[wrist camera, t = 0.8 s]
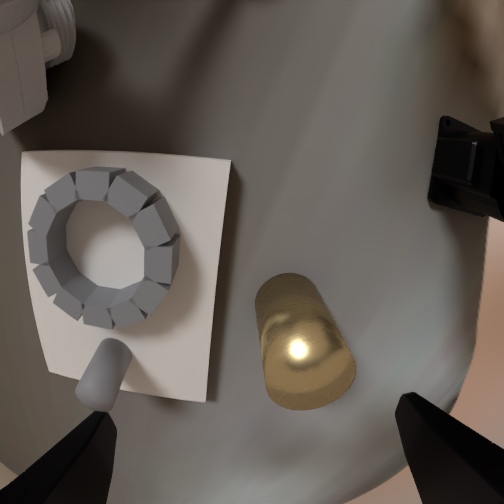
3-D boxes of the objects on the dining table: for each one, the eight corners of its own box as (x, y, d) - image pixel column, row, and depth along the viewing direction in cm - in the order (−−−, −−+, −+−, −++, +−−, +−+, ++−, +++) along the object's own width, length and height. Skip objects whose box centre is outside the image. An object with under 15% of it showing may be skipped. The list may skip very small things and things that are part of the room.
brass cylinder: (324, 276, 21) (368, 344, 13) (310, 331, 22) (340, 409, 15) (260, 269, 21) (275, 341, 13) (250, 327, 22) (259, 409, 14)
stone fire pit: (230, 160, 18) (229, 167, 12) (206, 389, 24) (202, 451, 18) (33, 150, 17) (-28, 159, 11) (55, 361, 22) (25, 409, 16)
